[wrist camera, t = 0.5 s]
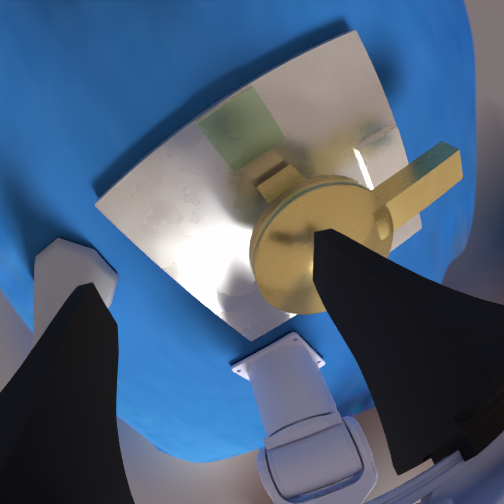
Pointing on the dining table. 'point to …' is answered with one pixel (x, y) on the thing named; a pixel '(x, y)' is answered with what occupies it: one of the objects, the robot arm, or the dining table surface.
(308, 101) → the base plate
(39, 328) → the flask
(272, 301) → the gold bar with disc
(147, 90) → the dining table surface
